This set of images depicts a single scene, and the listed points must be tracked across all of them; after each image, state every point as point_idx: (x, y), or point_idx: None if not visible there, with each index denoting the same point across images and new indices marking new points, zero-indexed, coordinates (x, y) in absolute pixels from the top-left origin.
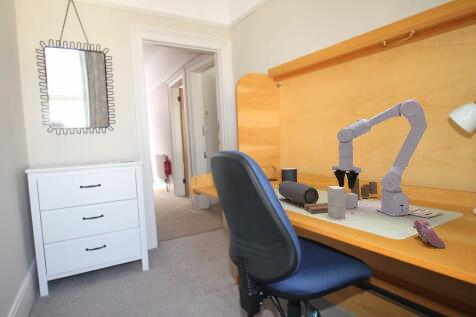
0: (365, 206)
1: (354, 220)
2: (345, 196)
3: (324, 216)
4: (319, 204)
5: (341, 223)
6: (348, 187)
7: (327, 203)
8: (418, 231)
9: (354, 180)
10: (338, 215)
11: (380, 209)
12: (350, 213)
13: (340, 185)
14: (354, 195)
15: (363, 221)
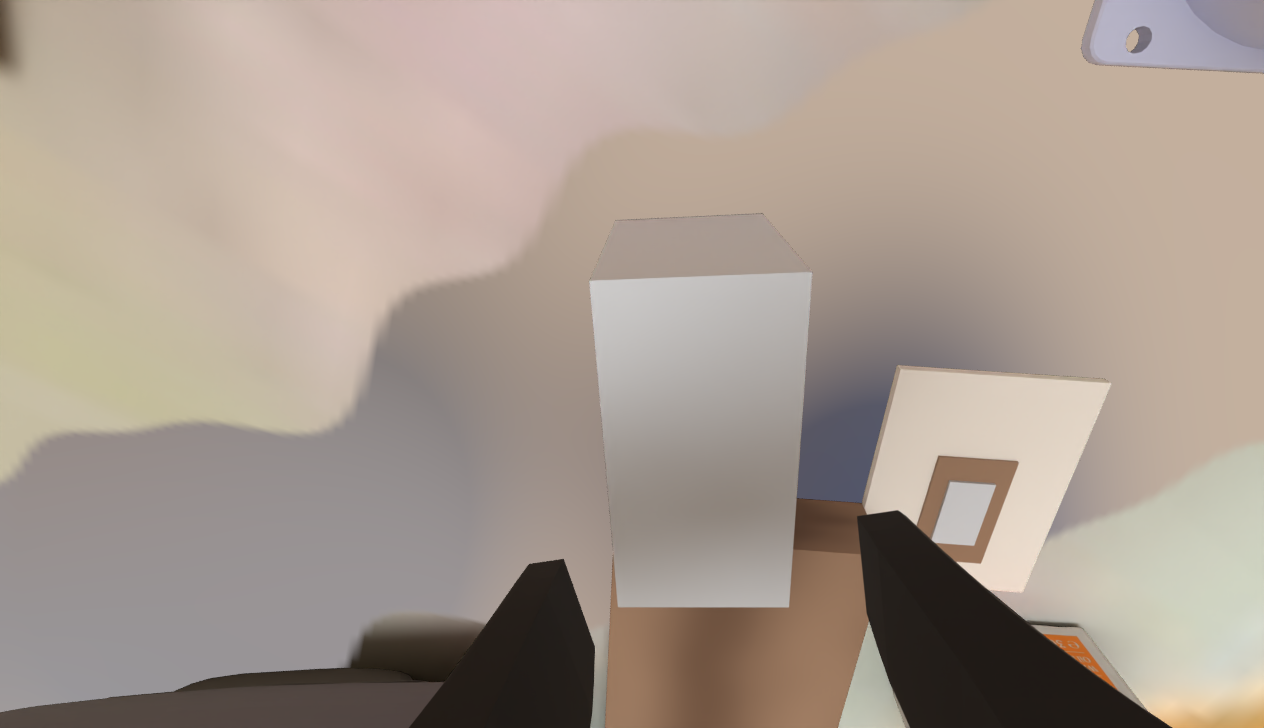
0: (739, 22)
1: (1165, 575)
2: (791, 537)
3: (880, 713)
4: (662, 718)
5: (1145, 704)
6: (883, 651)
7: (655, 635)
8: None
9: (1094, 725)
10: None
11: (1166, 8)
12: (986, 504)
13: (589, 685)
14: (805, 352)
15: (1258, 524)
